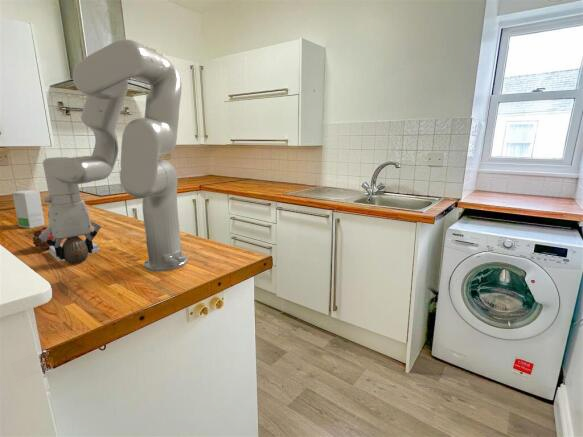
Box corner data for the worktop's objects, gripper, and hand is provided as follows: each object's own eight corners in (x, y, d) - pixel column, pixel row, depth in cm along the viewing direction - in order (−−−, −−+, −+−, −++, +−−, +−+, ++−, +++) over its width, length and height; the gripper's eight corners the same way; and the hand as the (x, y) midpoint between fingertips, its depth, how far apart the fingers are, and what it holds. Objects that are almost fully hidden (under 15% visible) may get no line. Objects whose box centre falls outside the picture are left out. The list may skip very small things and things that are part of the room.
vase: (85, 256, 105) (80, 230, 103) (93, 261, 101) (88, 234, 99) (60, 262, 100) (55, 235, 98) (68, 267, 96) (62, 240, 94)
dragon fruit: (39, 258, 108) (58, 251, 120) (60, 242, 109) (77, 237, 121) (20, 239, 107) (41, 234, 118) (41, 223, 107) (60, 219, 119)
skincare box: (18, 226, 142) (10, 192, 138) (34, 223, 148) (27, 189, 144) (30, 228, 139) (23, 193, 136) (46, 224, 145) (39, 190, 142)
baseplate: (99, 251, 110) (98, 245, 109) (57, 261, 101) (56, 254, 101) (89, 244, 118) (88, 238, 117) (49, 252, 109) (48, 246, 109)
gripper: (31, 205, 87) (44, 266, 92) (101, 196, 99) (110, 251, 104) (26, 202, 92) (39, 260, 97) (94, 194, 104) (102, 245, 109)
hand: (75, 254), depth 100 cm, fingers closed on vase, 7 cm apart
